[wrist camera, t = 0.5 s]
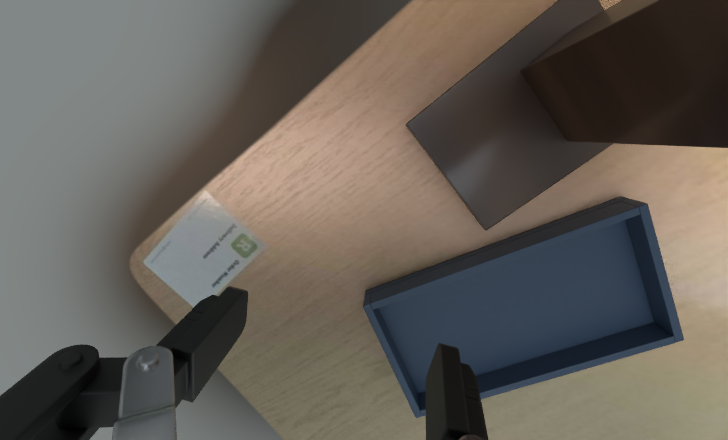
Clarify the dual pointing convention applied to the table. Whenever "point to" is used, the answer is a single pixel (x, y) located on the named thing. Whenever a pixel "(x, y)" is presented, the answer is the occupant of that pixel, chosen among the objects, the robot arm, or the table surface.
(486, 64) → the shelf stand
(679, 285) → the table surface
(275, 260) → the table surface
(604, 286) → the tray
